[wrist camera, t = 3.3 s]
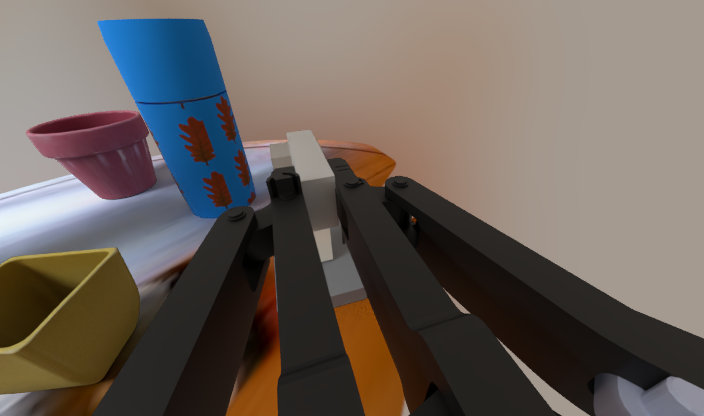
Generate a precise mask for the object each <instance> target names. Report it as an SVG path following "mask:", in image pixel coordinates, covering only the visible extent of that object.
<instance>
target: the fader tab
mask: <svg viewBox="0 0 704 416" xmlns="http://www.w3.org/2000/svg"><path fill="white" fill-rule="evenodd" d="M316 141H317V139H316ZM317 143H318V141H317ZM318 145H319V143H318ZM319 147H320V145H319ZM320 149H321V147H320ZM321 151H322V149H321ZM270 153H271V161H272V165H273V169H276V168H282V167H288V166H293V164H292V159H291V154H290V149H289V144H288V142H286V143H278V144H270ZM322 153H323V151H322ZM313 233H314V237H315V241H316V244H317V248H318V252H319V255H320V259H321V262H323V261H327V260H332V259H333V254H332V244H331V235H330V228H328V229H323V230H319V231H314V232H313Z"/></svg>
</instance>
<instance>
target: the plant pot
mask: <svg viewBox="0 0 704 416" xmlns="http://www.w3.org/2000/svg"><path fill="white" fill-rule="evenodd" d="M148 134H149V131H148V129H147V127H146V125H145V122H144V120H143V119H142V117H141V115H140V114H139V113H138V112H136V111H124V110H123V111H105V112H96V113H88V114H81V115H75V116H70V117H65V118H61V119H57V120H53V121H49V122H46V123H42V124H39V125H37V126H34V127H32V128H30V129H28V130H27V132H26V135H27V136H28V138H29V139H30V140H31V141H32V142H33V144H34V145H35V147H36V148H37V149H38V150H39V152H40V153H41V154H42V155H43V156H45V157H48V158H55V159H56V160H57V161H58V162H59V163H60V164H61V165H62V166H64V167H65V168H66V169H67V170H68V171H69V172H71V173H72V174H73V175H74V176H75V177H76V178H78V179H79V180H80V181H81V182H82V183H84V184H85V185H86V186H87V187H88V188H90V189H91V190H92V191H93V192H94V193H95V194H97V195H98V196H99V197H100V198H102V199H109V200H110V199H120V198H125V197H129V196H133V195H136V194H139V193H141V192H143V191H145V190H147V189H149V188H150V187H152V186H153V185H154V184H155V183H156V176H155V172H154V168H153V164H152V159H151V155H150V152H149V149H148V145H147V141H146V137H147V136H148Z"/></svg>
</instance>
